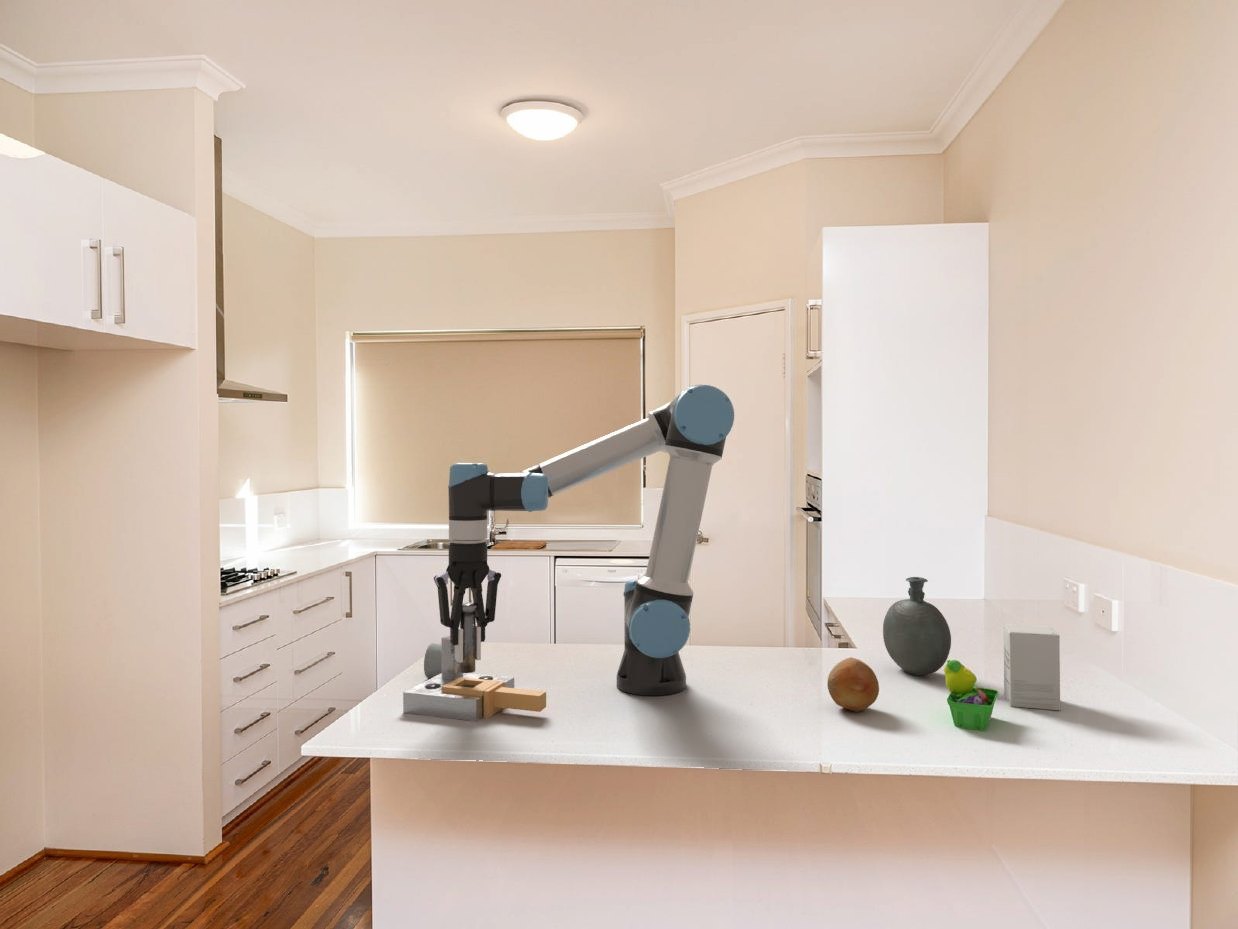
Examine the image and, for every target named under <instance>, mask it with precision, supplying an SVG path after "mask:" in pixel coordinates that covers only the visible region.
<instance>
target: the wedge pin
mask: <svg viewBox="0 0 1238 929" xmlns="http://www.w3.org/2000/svg"><path fill="white" fill-rule="evenodd" d="M477 610H478V606H477V604H475V603H473V602H463V604H462V611H461V618H460V625H459V627H460V628H462V629H463V662H461V663H460V672H461V673H475V672H476V659H475V642H476V625H477V622H476V611H477Z"/></svg>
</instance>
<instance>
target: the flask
mask: <svg viewBox="0 0 1238 929" xmlns="http://www.w3.org/2000/svg"><path fill="white" fill-rule="evenodd" d="M905 581H906V582H909V583H908V584H909V587H908V591H907V593H908V596H909V598H907V599H899V600H898V601H895V602H894V603H892V605H890V606H889V608H888V610H887V612H886V614H885V616H884V619H883V622H882V623H883V625H882V636H883V637H882V638H883V643H884V646H885V649H886V651H887V653H888V655H889V657H890V658H891V659H892V660H893V662H894V663H895V664H896V665H897V666H898V667H899V668H901V669H902V670H903V671H904V672H907V673H909V674H911V675H914V676H928V675H931V674H934V673H936V672H938V671H939V670H940V669H942V667H943V666H945V665H946V663H947V661H948V658H949V654H950V650H951V648H952V634H951V629H950V626H949V624H948V621H947V619H946V617H945V616H944V615H943V613H942V612H941V611H940V610H939V609H938V607H936V606H935V605H934V604H932V603H929V602H927V601H925V600H924V599H925V595H926V594H925V592H924V590H923V588H924V586H925V583H928V582H929V580H928V579H926V578H924V577H920V576H910V577H908V578H905Z"/></svg>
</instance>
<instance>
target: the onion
mask: <svg viewBox="0 0 1238 929" xmlns="http://www.w3.org/2000/svg"><path fill="white" fill-rule="evenodd" d="M827 690H828V693H829V695H830V697H831V699H832V700H833V702H834V703H835V704H836V705H837V706H839V707H841V708H843V709H846V710H849V711H852V712H855V713H857V712H858V713H859V712H862V711H864V710H866V709H868V708H869V707H870V706H871V705H873V704H874V703H875V702H876V700H877V698H878V696H879V692H880V684H879V680H878V677H877V675H876V673H875V671H874V670H873V669H872V668H871V666H869V665H868V664H867V663H865V662H863V661H862V660H861V659H859V658H855V657H848V658H845V659H842V660H841V661H839V662H837V663H836V665H834V666H833V668H832V669H831V670H830V672H829V674H828V676H827Z"/></svg>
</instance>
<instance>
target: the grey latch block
mask: <svg viewBox="0 0 1238 929" xmlns="http://www.w3.org/2000/svg"><path fill="white" fill-rule="evenodd" d="M441 644H442V673H441V674H439V675H437V676H435V677H433V678H428V679H427V680H424V681H423V682H421V683H419V684H417V685H415V686H413V687H411V688H409V689H407V690H405V691H403V694H402V696H403V697H402V700H403V701H402V704H403V705H402V706H403V708H402V709H403V710H402V712H403V714H404V713H405V714H412V715H421V716H429V717H437V718H446V719H453V720H463V721H471V722H477V721H480V719H483V718H485V717H484V696H476V695H466V694H457V693H448V692H442V686H444V685H446V684H448V683H450V682H451V681H453V680H455V679H457V678H459V677H465V678H475V679H485V680H495V681H505V687H507V688H515V676H506V675H497V674H496V675H495V674H485V673H475V672H472V673H461V672H460V663H459V662H457V661H456V660H455V645H452V644H451V642H450V635H447V636H443V637H442V638H441ZM461 687H471V688H474V687H475V686H474V685H463V686H461Z"/></svg>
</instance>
